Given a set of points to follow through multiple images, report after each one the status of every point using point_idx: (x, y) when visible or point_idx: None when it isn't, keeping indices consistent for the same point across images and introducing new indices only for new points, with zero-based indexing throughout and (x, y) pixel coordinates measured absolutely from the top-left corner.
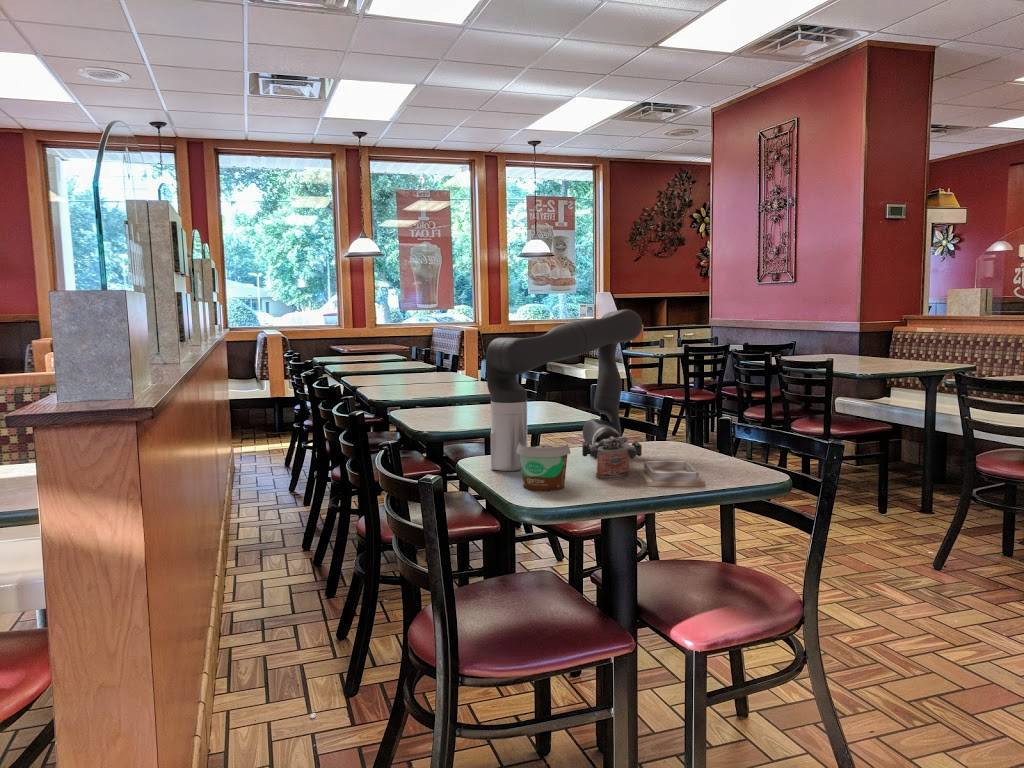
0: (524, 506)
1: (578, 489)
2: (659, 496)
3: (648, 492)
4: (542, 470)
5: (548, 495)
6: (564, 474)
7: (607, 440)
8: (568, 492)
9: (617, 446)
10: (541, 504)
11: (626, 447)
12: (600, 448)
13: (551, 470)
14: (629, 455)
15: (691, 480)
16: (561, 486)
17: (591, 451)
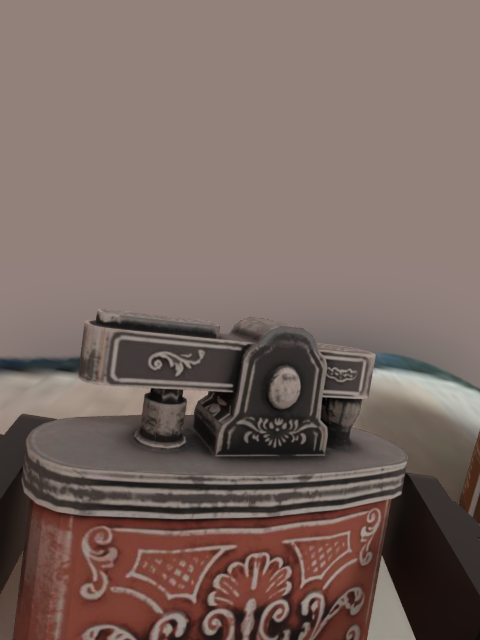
0: (460, 385)
1: None
2: (72, 370)
3: (85, 406)
4: None
5: (458, 441)
6: (476, 453)
7: (324, 344)
8: None
9: (207, 403)
10: (428, 387)
11: (93, 424)
12: (374, 445)
13: None
14: (1, 579)
15: None
16: (463, 490)
17: (464, 518)
